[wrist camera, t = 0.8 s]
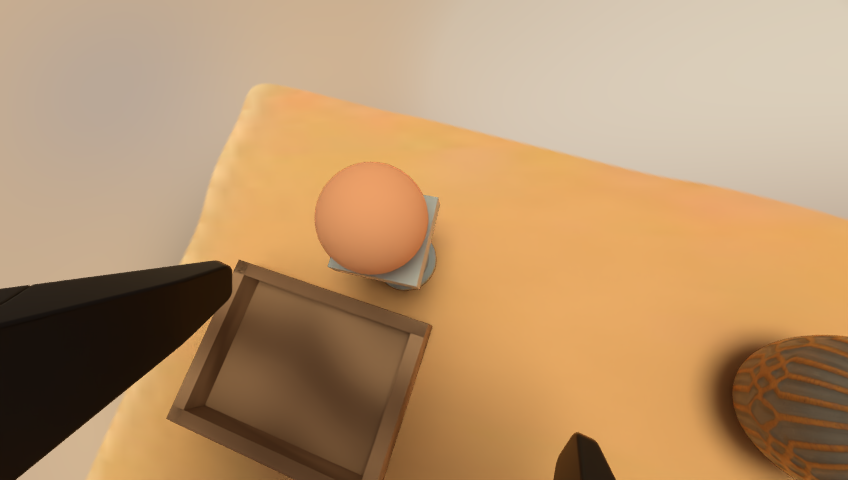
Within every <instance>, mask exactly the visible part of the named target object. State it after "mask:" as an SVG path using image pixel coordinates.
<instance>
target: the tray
mask: <svg viewBox="0 0 848 480" xmlns="http://www.w3.org/2000/svg"><path fill="white" fill-rule="evenodd" d="M431 329H432V326H431V325H429V324H427V323H424V322H421V321H418V320H415V319H412V318H409V317H406V316H403V315H400V314H397V313H394V312H391V311H388V310H386V309H383V308H380V307H377V306H374V305H371V304H368V303H365V302H362V301H359V300H356V299H353V298H350V297H347V296H344V295H341V294H338V293H336V292H333V291H330V290H327V289H324V288H321V287H318V286H315V285H312V284H309V283H306V282H303V281H300V280H297V279H294V278H291V277H288V276H286V275H283V274H280V273H277V272H274V271H271V270H268V269H265V268H262V267H259V266H256V265H253V264H250V263H247V262H244V261H241V260H239V261H238V263H237V265H236V267H235V269H234V272H233V274H232V295H231V297H230V298H229V300H228V301H227V302H226V303H225V304H224V305H223V306H222V307H221V308H220V309H219V310H218V311H217V312H216V313H214V315H213V318H212V320H211V322H210V324H209V326H208V329H207V331H206V333H205V335H204V337H203V339H202V342H201V344H200V346H199V348H198V350H197V353H196V355H195V357H194V359H193V361H192V364H191V366H190V368H189V370H188V372H187V374H186V377H185V379H184V381H183V383H182V385H181V388H180V390H179V392H178V394H177V396H176V399H175V401H174V403H173V405H172V407H171V409H170V412H169V414H168V416H167V418H166V419H168V420H170V421H172V422H174V423H176V424H178V425H180V426H183V427H185V428H187V429H189V430H191V431H193V432H195V433H197V434H200V435H202V436H204V437H206V438H208V439H210V440H212V441H214V442H216V443H219V444H221V445H223V446H225V447H227V448H229V449H231V450H233V451H236V452H238V453H240V454H242V455H244V456H246V457H248V458H250V459H253V460H255V461H257V462H259V463H261V464H263V465H265V466H267V467H270V468H272V469H274V470H276V471H278V472H280V473H282V474H284V475H287V476H289V477H291V478H293V479H295V480H383V479H384V476H385V473H386V470H387V467H388V464H389V460H390V457H391V454H392V451H393V448H394V445H395V442H396V439H397V435H398V432H399V429H400V426H401V423H402V420H403V417H404V414H405V410H406V407H407V404H408V401H409V398H410V395H411V392H412V389H413V385H414V382H415V379H416V376H417V373H418V370H419V367H420V364H421V360H422V357H423V354H424V351H425V348H426V345H427V342H428V339H429V335H430V332H431Z"/></svg>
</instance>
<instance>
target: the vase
mask: <svg viewBox="0 0 848 480" xmlns="http://www.w3.org/2000/svg"><path fill="white" fill-rule="evenodd" d="M732 397H733V405H734V409H735V412H736V415H737V418H738V420H739V422H740V424H741V426H742V428H743V430H744V431H745V433H746V434H747V436H748V437H749V438H750V440H751V441H752V442H753V444H754V445H755V446H756V447H757V448H758V449H759V450H760V451H761V452H762V453H763V454H764V455H765V456H766V457H767V458H768V459H769V460H770V461H771V462H772V463H774V464H775V465H776V466H777V467H779V468H780V469H781V470H783V471H784V472H786V473H787V474H788V475H790V476H791V477H793V478H794V479H796V480H848V337H845V336H836V335H812V336H800V337H793V338H788V339H783V340H780V341H777V342H774V343H771V344H769V345H767V346H764V347H763V348H761V349H759V350H757V351H756V352H754V353H753V354H752V355H750V356H749V357H748V358H747V359H746V360H745V361H744V362H743V364H742V365H741V366H740V368H739V369H738V371H737V373H736V376H735V379H734V382H733V390H732Z"/></svg>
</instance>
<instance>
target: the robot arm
mask: <svg viewBox="0 0 848 480" xmlns="http://www.w3.org/2000/svg"><path fill="white" fill-rule="evenodd" d="M231 295H232V269H231V267H230V266H228V265H226V264H224V263H222V262H220V261H207V262H200V263H192V264H185V265H177V266H170V267H162V268H155V269H147V270H140V271H132V272H125V273H117V274H110V275H103V276H94V277H87V278H79V279H72V280H64V281H57V282H49V283H42V284H35V285H32V286H28V285H26V286H18V287H12V288H3V289H0V480H16V479H17V478H18V477H20V476H21V475H22V474H23V473H25V472H26V471H27V470H28V469H29V468H31V467H32V466H33V465H34V464H36V463H37V462H38V461H39V460H41V459H42V458H43V457H44V456H46V455H47V454H48V453H49V452H50V451H52V450H53V449H54V448H55V447H57V446H58V445H59V444H60V443H62V442H63V441H64V440H65V439H66V438H68V437H69V436H70V435H71V434H73V433H74V432H75V431H76V430H78V429H79V428H80V427H81V426H82V425H84V424H85V423H86V422H87V421H89V420H90V419H91V418H92V417H94V416H95V415H96V414H97V413H99V412H100V411H101V410H102V409H103V408H105V407H106V406H107V405H108V404H109V403H111V402H112V401H113V400H115V399H116V398H117V397H118V396H119V395H121V394H122V393H123V392H124V391H126V390H127V389H128V388H129V387H131V386H132V385H133V384H134V383H135V382H137V381H138V380H139V379H140V378H142V377H143V376H144V375H145V374H147V373H148V372H149V371H150V370H151V369H153V368H154V367H155V366H156V365H158V364H159V363H160V362H161V361H163V360H164V359H165V358H166V357H167V356H169V355H170V354H171V353H172V352H174V351H175V350H176V349H177V348H178V347H180V346H181V345H182V344H183V343H184V342H185V341H186V340H188V339H189V338H190V337H191V336H192V335H193V334H194V333H195V332H196V331H197V330H198V329H199V328H200V327H201V326H202V325H203V324H204V323H205V322H206V321H207V320H208V319H209V318H210V317H211V316H212V315H213V314H214V313H216V312H217V311H218V310H219V309H220V308H221V307H222V306H223V305H224V304H225V303H226V302H227V301H228V300H229V298H230V297H231ZM553 480H616V479H615V477H614V475H613V473H612V471H611V469H610V467H609V465H608V463H607V461H606V459H605V457H604V455H603V453H602V451H601V449H600V447H599V445H598V443H597V442H596V441H595V440H594V439H592V438H589V437H587V436H585V435H583V434H581V433H578V432H576V433H574V434H573V435H572V437H571V438H570V440H569V441H568V443H567V444H566V446H565V447H564V449H563V450H562V452H561V453H560V455H559V457H558V460H557V463H556V468H555V473H554V479H553Z"/></svg>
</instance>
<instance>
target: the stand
mask: <svg viewBox="0 0 848 480" xmlns="http://www.w3.org/2000/svg"><path fill="white" fill-rule="evenodd" d="M423 196H424V198H425V201H426V205H427V210H428V228H427V233H426V236H425V239H424V241H423V244H422V246H421V247H420V249H419V250H418V252H417V253H416V254H415V256H414V257H413V258H412V259H411V260H410V261H408V262H407V263H406V264H405V265H403V266H401V267H400V268H398V269H396V270H393V271H391V272H387V273H383V274H374V275H368V274H361V273H356V272H353V271H351V270H348V269H346V268H344V267H343V266H341V265H339V264H338V263H337V262H336V261H334V260H333V259H332V258H331V257H330V261H329V264H328V267H329V268H331V269H333V270H335V271H339V272H344V273H348V274H353V275H357V276H362V277H366V278H370V279H375V280H379V281H384V282H385V283H386V284H388V285H389V286H391V287H393V288H395V289H398V290H413V289H419V290H420V286H422V285H423V284H425V283H426V282H427V281H428V280H429V279H430V278H431V276H432V274H433V272H434V270H435V267H436V254H435V250H434V248H433V245H432V244H431V240H432V236H433V232H434V228H435V224H436V220H437V215H438V211H439V207H440V202H439V198H438V197H432V196H426V195H423Z"/></svg>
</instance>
